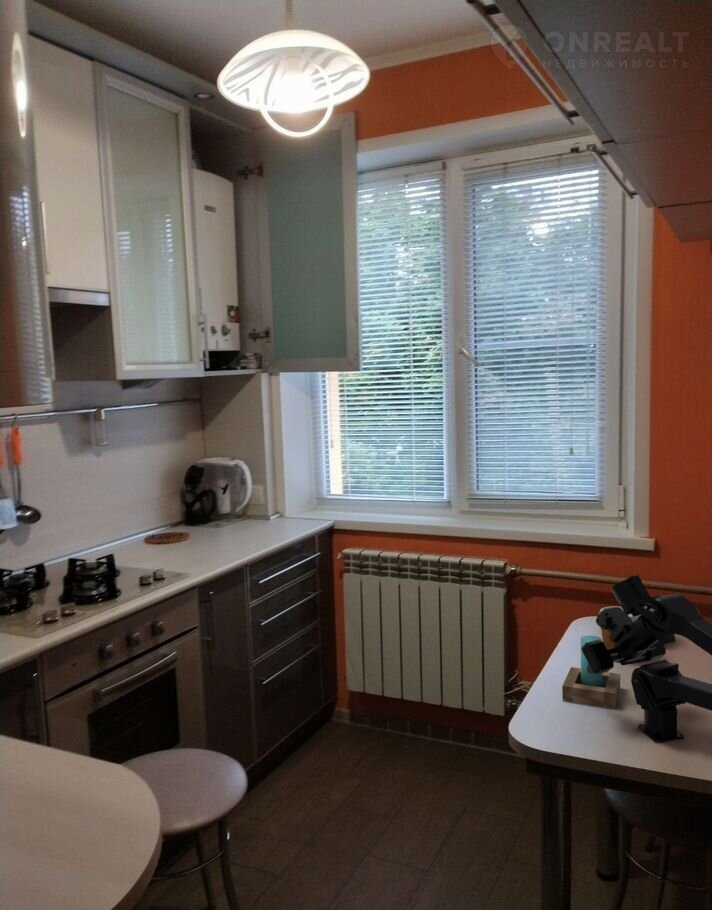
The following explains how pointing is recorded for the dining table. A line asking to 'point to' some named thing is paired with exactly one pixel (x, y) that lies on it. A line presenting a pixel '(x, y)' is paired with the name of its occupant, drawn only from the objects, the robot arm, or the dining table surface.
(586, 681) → the peg
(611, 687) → the block
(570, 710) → the dining table surface
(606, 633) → the disposable coffee cup
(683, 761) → the dining table surface
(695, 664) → the dining table surface
